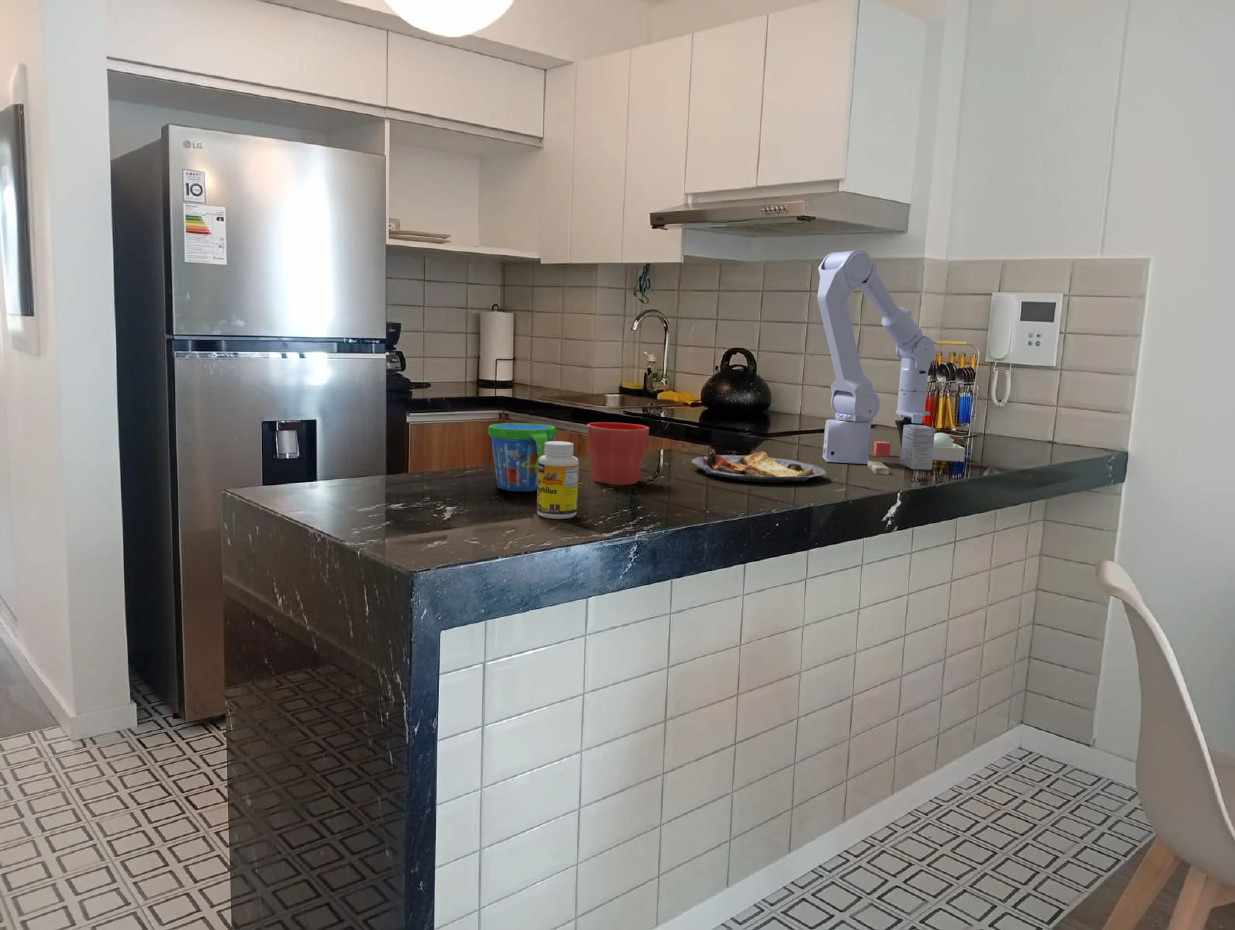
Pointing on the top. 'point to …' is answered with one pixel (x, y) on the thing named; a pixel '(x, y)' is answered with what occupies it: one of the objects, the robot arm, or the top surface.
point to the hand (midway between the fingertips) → (907, 453)
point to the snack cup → (519, 453)
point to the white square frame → (949, 453)
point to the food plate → (757, 467)
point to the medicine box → (917, 447)
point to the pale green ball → (942, 440)
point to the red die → (881, 448)
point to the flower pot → (616, 451)
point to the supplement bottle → (557, 481)
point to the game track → (878, 467)
